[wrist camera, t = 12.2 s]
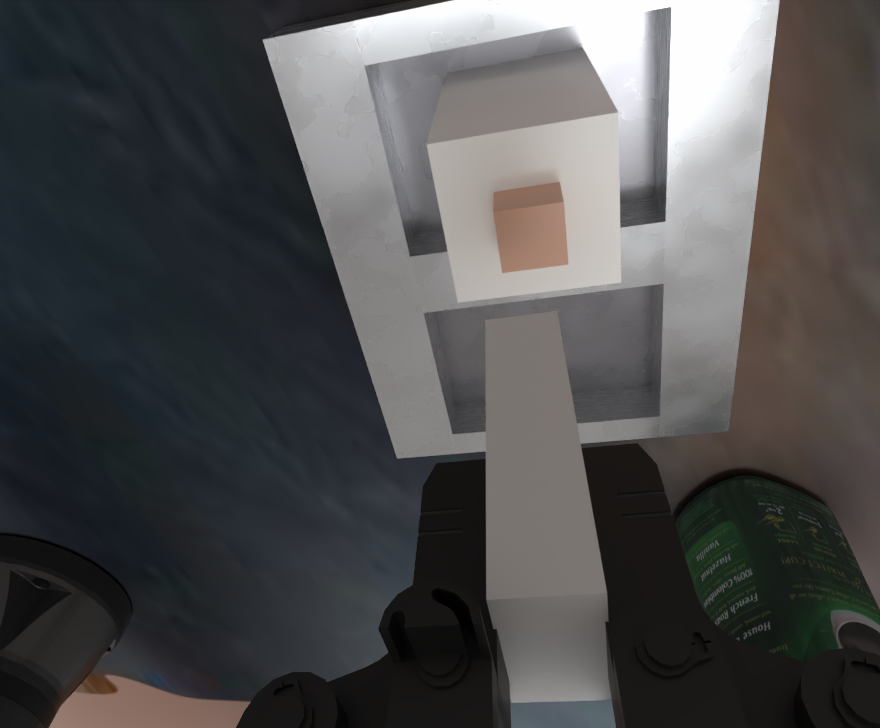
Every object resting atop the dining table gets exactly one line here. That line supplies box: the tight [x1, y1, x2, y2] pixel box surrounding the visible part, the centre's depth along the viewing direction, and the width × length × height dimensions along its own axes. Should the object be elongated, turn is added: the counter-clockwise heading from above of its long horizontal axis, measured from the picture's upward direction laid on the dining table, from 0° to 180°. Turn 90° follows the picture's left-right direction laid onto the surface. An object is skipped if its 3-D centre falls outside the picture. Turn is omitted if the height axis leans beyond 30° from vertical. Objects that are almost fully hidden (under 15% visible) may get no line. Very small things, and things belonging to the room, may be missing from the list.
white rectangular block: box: [427, 48, 621, 303], centre depth 22 cm, size 6×6×10 cm
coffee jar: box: [675, 476, 880, 662], centre depth 34 cm, size 10×8×19 cm
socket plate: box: [263, 0, 779, 459], centre depth 29 cm, size 18×22×3 cm
